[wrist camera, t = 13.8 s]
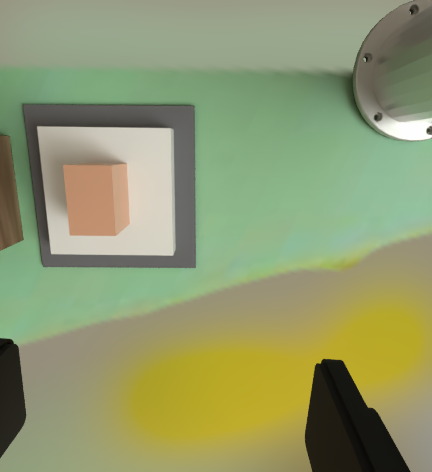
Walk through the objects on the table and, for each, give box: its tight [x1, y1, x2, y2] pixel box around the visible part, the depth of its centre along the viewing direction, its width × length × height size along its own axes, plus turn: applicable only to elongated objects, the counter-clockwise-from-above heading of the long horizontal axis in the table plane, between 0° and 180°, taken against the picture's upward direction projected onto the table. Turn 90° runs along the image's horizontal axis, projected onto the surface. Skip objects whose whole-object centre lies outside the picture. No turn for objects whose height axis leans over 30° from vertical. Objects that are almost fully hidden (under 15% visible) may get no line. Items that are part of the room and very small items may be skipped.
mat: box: [23, 105, 196, 268], centre depth 36 cm, size 17×17×1 cm
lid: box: [37, 126, 176, 256], centre depth 32 cm, size 13×13×7 cm
